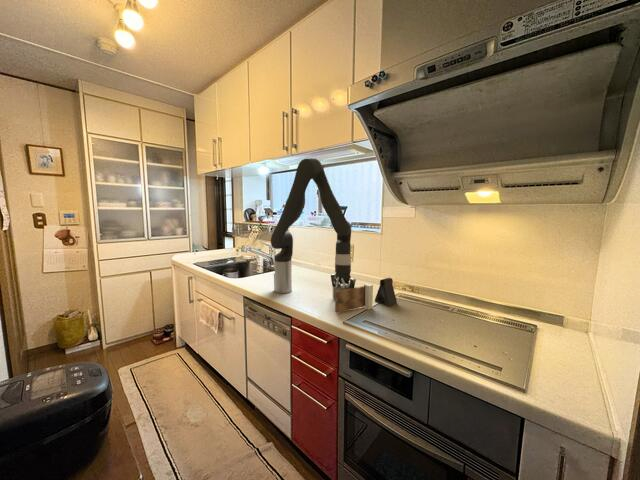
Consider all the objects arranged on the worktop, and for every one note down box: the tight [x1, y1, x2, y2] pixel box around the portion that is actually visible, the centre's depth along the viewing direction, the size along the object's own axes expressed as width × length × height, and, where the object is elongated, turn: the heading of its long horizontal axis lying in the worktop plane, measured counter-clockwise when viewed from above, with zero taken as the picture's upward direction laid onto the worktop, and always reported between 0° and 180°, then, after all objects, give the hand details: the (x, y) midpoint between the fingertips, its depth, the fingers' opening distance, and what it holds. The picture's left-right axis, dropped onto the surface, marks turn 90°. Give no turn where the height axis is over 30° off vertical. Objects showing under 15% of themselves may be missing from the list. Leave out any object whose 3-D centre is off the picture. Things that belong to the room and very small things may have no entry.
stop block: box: [333, 284, 345, 301], centre depth 123 cm, size 5×7×6 cm
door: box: [334, 284, 367, 314], centre depth 115 cm, size 17×2×10 cm, turn 119°
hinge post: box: [364, 283, 374, 310], centre depth 118 cm, size 2×3×11 cm, turn 136°
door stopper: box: [374, 277, 398, 307], centre depth 125 cm, size 9×6×12 cm, turn 37°
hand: (342, 297), depth 123 cm, fingers closed on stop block, 5 cm apart
